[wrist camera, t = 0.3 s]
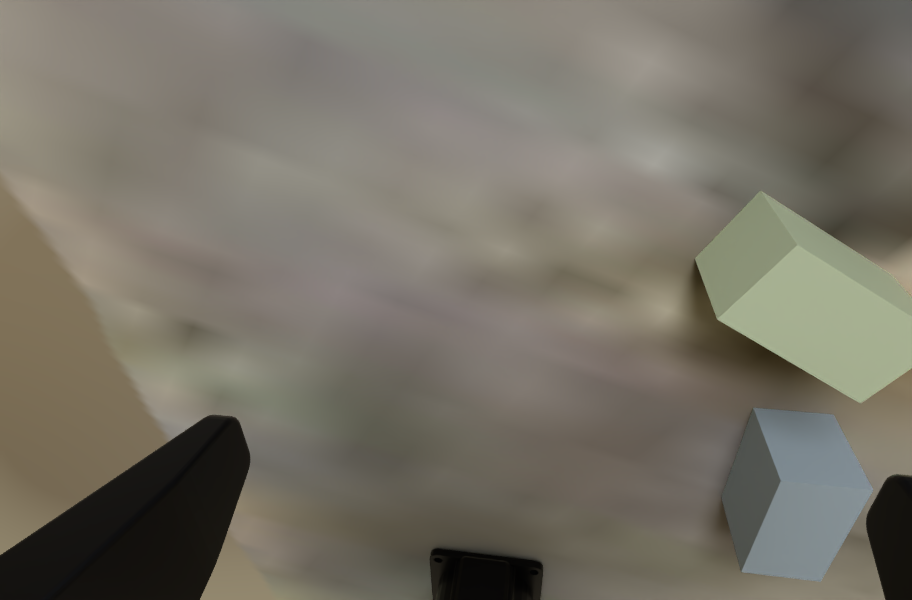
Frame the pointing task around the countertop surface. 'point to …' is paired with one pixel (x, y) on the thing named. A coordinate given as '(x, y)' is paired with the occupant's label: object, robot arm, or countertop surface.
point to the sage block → (809, 298)
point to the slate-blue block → (792, 494)
